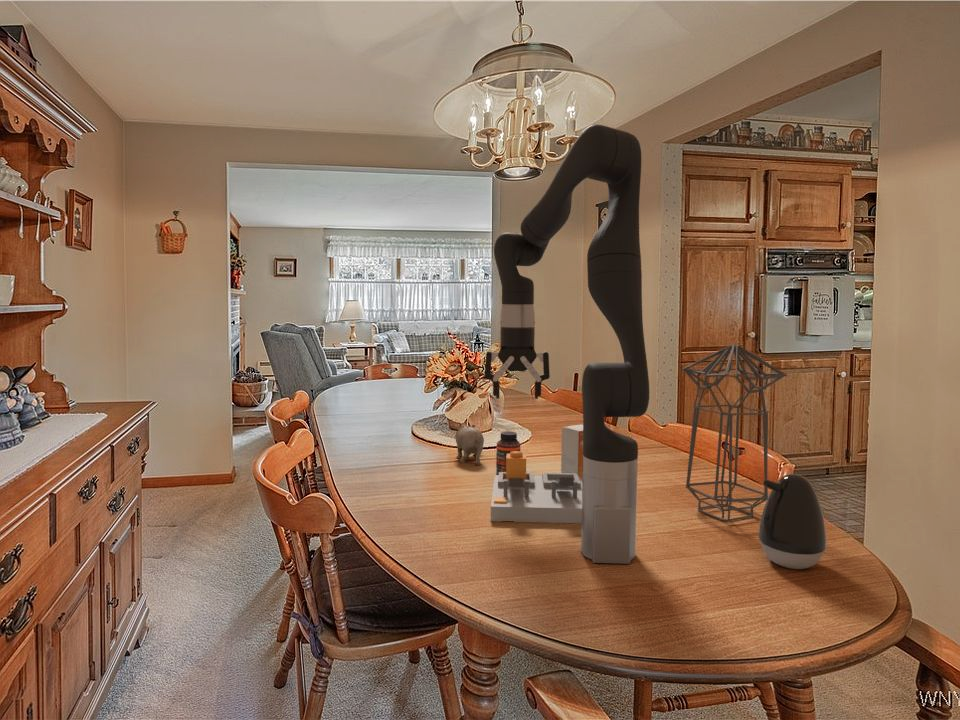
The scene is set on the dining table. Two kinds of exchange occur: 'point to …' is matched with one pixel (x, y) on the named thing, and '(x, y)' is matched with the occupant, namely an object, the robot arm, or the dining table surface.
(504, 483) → the breaker panel
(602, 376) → the robot arm
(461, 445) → the rhinoceros figurine
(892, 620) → the dining table surface
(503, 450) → the supplement bottle
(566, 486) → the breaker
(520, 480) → the breaker
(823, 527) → the pump dispenser
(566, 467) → the small box
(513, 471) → the cap
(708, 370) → the geometric lantern
